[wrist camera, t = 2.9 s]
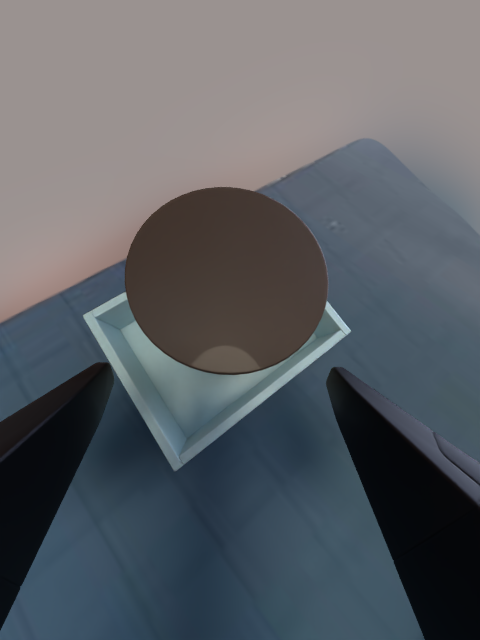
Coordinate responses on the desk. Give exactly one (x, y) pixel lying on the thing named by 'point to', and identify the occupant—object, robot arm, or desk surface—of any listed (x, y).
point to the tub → (193, 380)
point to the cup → (226, 281)
